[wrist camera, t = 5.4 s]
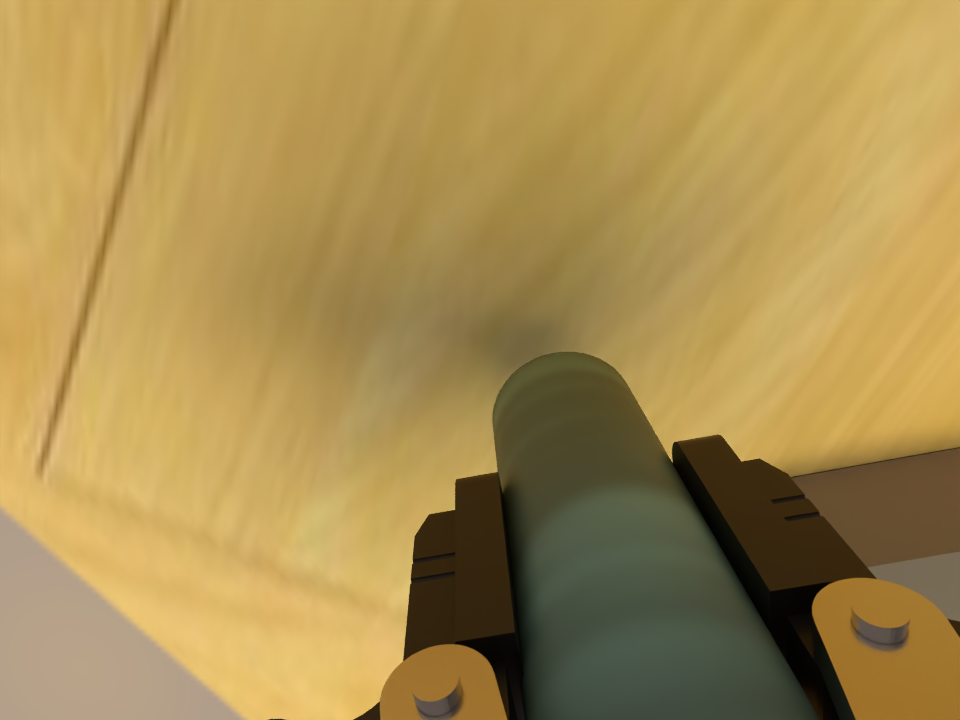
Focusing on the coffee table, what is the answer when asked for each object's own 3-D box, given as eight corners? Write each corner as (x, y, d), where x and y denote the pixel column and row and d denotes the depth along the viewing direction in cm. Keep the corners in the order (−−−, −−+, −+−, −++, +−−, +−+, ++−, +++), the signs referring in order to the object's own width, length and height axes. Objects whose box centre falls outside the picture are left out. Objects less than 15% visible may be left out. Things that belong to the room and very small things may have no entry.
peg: (480, 366, 14) (534, 967, 4) (626, 339, 13) (1004, 897, 4) (505, 489, 15) (587, 1172, 5) (640, 465, 15) (959, 1123, 5)
